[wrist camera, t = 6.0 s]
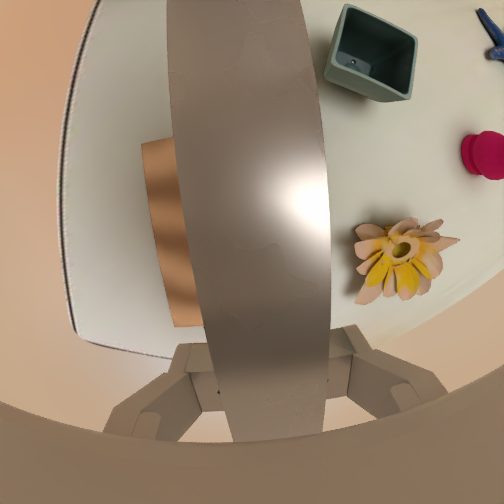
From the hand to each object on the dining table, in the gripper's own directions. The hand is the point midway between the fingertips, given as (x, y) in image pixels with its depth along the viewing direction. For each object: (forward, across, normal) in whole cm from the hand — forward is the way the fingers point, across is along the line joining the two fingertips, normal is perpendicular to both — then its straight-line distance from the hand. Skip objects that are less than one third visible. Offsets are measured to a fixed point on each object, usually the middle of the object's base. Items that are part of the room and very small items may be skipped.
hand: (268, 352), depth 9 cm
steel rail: (+1, 0, 0) cm, 1 cm away
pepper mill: (+25, -35, -8) cm, 44 cm away
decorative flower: (+25, -17, +6) cm, 31 cm away
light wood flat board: (+25, +9, +1) cm, 26 cm away
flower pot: (+25, -14, -18) cm, 34 cm away
